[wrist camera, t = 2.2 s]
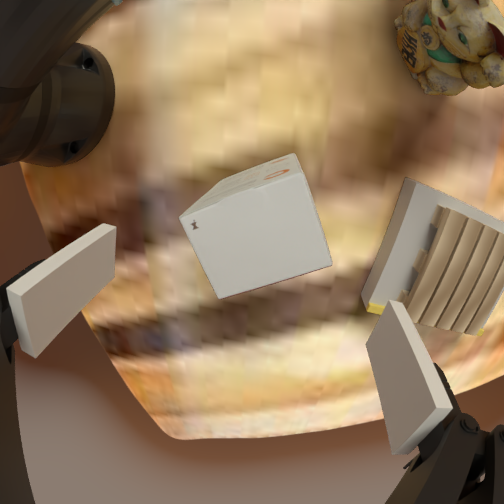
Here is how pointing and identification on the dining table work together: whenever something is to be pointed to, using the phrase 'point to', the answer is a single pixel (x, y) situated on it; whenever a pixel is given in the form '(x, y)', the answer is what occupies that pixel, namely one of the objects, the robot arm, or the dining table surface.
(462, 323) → the pallet
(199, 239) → the small box
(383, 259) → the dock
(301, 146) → the dining table surface
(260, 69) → the dining table surface
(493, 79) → the decorative figurine
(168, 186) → the dining table surface
